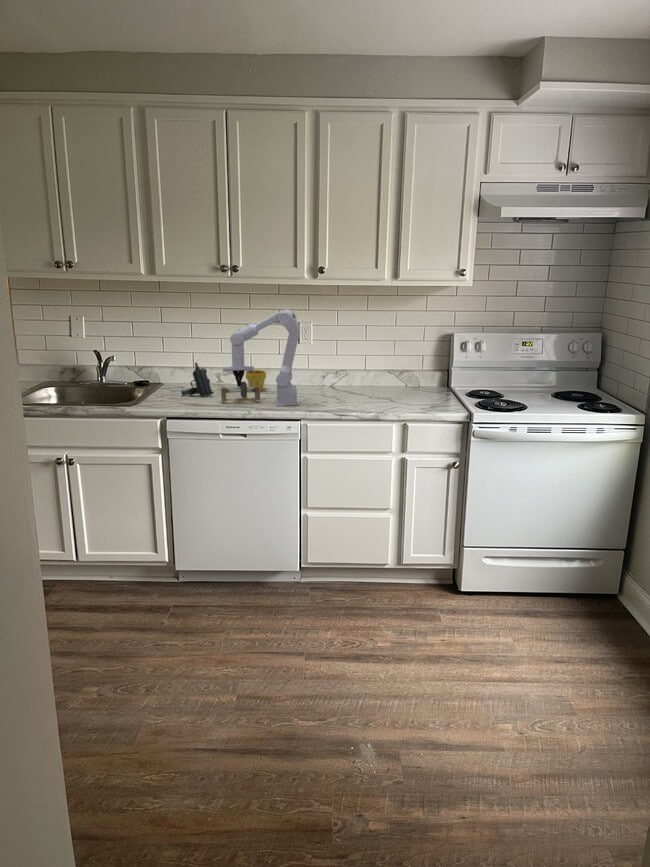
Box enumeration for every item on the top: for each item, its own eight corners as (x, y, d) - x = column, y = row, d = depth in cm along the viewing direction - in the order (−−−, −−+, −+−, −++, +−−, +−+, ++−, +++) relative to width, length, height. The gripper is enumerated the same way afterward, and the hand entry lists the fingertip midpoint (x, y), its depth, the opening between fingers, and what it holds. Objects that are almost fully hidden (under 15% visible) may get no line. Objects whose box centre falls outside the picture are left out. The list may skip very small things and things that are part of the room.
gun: (174, 367, 312) (203, 360, 312) (184, 400, 317) (213, 392, 317) (173, 369, 310) (202, 361, 309) (184, 401, 315) (213, 393, 314)
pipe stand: (258, 399, 310) (258, 385, 308) (260, 402, 305) (260, 387, 303) (221, 401, 307) (220, 386, 304) (222, 404, 301) (221, 389, 299)
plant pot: (264, 392, 324) (264, 374, 321) (244, 392, 324) (244, 373, 322) (267, 388, 334) (267, 369, 331) (247, 387, 334) (247, 369, 331)
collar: (245, 394, 308) (245, 381, 306) (247, 397, 302) (246, 384, 301) (240, 394, 308) (240, 381, 306) (241, 397, 302) (241, 384, 300)
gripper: (252, 355, 304) (253, 383, 308) (221, 356, 301) (222, 384, 305) (254, 358, 298) (254, 387, 302) (222, 359, 295) (223, 388, 299)
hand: (238, 386), depth 303 cm, fingers closed
